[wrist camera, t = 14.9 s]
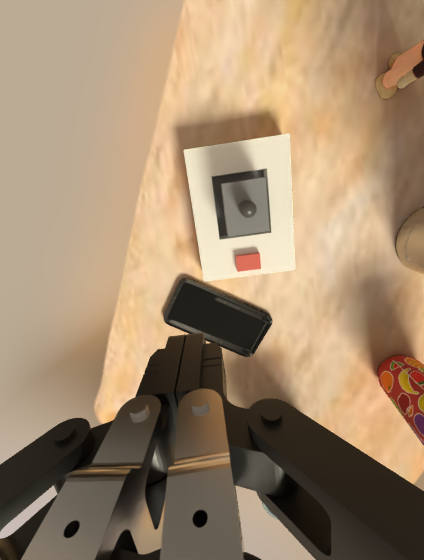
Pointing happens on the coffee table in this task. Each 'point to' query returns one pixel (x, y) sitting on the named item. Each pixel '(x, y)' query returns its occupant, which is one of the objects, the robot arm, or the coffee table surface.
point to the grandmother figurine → (401, 71)
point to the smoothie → (405, 389)
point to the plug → (245, 206)
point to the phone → (217, 317)
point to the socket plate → (210, 215)
